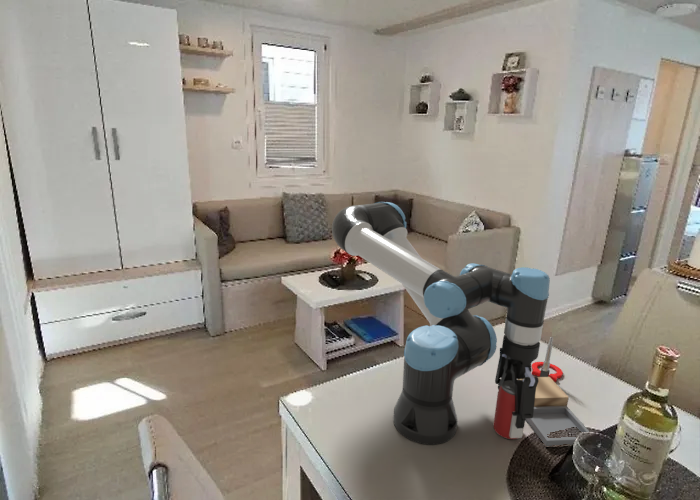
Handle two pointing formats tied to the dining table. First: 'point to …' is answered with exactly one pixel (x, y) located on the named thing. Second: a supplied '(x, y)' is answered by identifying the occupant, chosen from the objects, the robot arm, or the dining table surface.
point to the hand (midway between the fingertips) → (508, 425)
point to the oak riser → (549, 393)
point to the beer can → (504, 409)
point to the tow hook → (547, 366)
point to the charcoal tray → (554, 423)
